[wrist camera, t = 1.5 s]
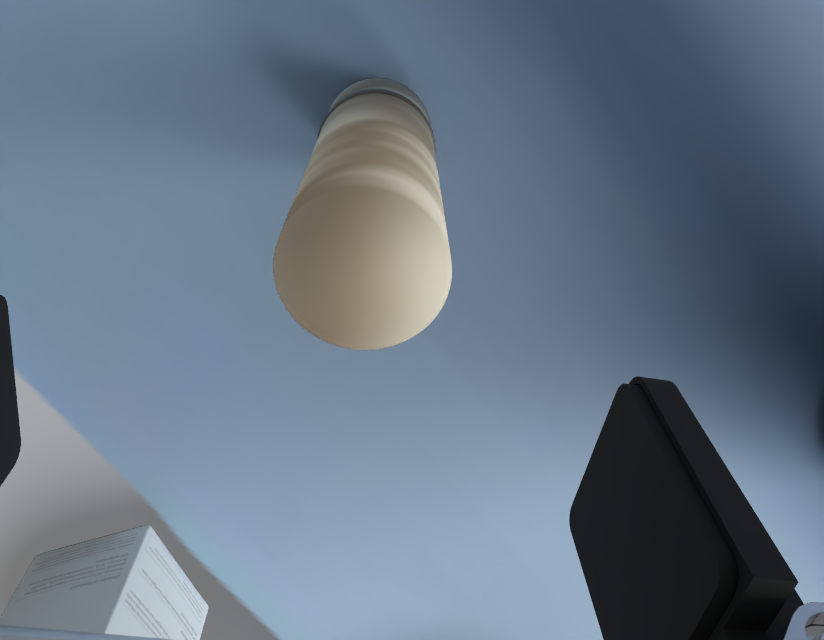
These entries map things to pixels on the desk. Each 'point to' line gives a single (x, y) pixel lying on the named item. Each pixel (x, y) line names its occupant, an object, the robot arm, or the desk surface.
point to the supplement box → (109, 590)
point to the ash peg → (367, 224)
